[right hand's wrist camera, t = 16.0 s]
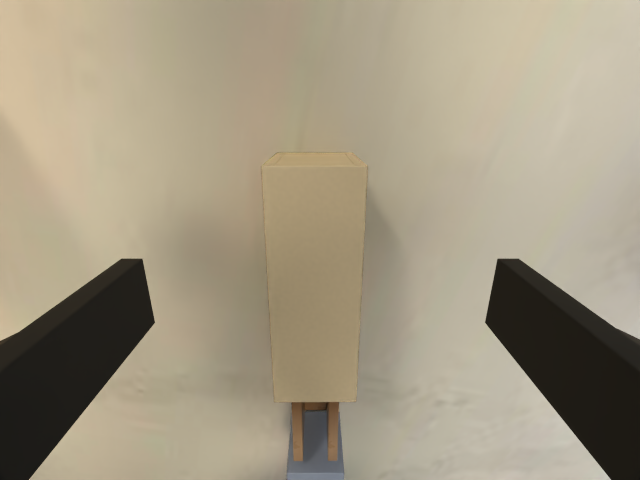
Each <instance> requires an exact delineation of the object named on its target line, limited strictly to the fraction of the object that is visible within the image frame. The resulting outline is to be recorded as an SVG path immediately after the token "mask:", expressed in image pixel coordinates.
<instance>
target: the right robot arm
mask: <svg viewBox="0 0 640 480" xmlns="http://www.w3.org/2000/svg"><path fill="white" fill-rule="evenodd" d="M154 323H155V321H154V316H153V311H152V306H151V301H150V295H149V290H148V285H147V280H146V275H145V270H144V265H143V260H142V259H121V260H119V261H118V262H116V263H115V264H114V265H112V266H111V267H109V268H108V269H107V270H105V271H104V272H102V273H101V274H100V275H98V276H97V277H95V278H94V279H93V280H91V281H90V282H88V283H87V284H86V285H84V286H83V287H81V288H80V289H79V290H77V291H76V292H74V293H73V294H72V295H70V296H69V297H67V298H66V299H65V300H63V301H62V302H60V303H59V304H58V305H56V306H55V307H53V308H52V309H51V310H49V311H48V312H46V313H45V314H44V315H42V316H41V317H39V318H38V319H37V320H35V321H34V322H32V323H31V324H30V325H28V326H27V327H25V328H24V329H23V330H21V331H20V332H18V333H16V334H14V335H12V336H10V337H8V338H6V339H4V340H2V341H0V480H29V479H30V477H31V476H32V475H33V474H34V473H35V471H36V470H37V469H38V468H39V466H40V465H41V464H42V463H43V461H44V460H45V459H46V458H47V456H48V455H49V454H50V453H51V451H52V450H53V449H54V448H55V446H56V445H57V444H58V443H59V441H60V440H61V439H62V438H63V436H64V435H65V434H66V433H67V431H68V430H69V429H70V428H71V426H72V425H73V424H74V423H75V421H76V420H77V419H78V418H79V416H80V415H81V414H82V413H83V411H84V410H85V409H86V408H87V407H88V405H89V404H90V403H91V402H92V400H93V399H94V398H95V397H96V395H97V394H98V393H99V392H100V390H101V389H102V388H103V387H104V385H105V384H106V383H107V382H108V380H109V379H110V378H111V377H112V375H113V374H114V373H115V372H116V370H117V369H118V368H119V367H120V365H121V364H122V363H123V362H124V360H125V359H126V358H127V357H128V355H129V354H130V353H131V352H132V350H133V349H134V348H135V347H136V345H137V344H138V343H139V342H140V340H141V339H142V338H143V337H144V336H145V334H146V333H147V332H148V331H149V329H150V328H151V327H152V326H153V324H154ZM485 323H486V324H487V326H488V327H489V328H490V329H491V331H492V332H493V333H494V334H495V336H496V337H497V338H498V339H499V340H500V342H501V343H502V344H503V345H504V347H505V348H506V349H507V350H508V352H509V353H510V354H511V355H512V357H513V358H514V359H515V360H516V362H517V363H518V364H519V365H520V367H521V368H522V369H523V370H524V372H525V373H526V374H527V375H528V377H529V378H530V379H531V380H532V382H533V383H534V384H535V385H536V387H537V388H538V389H539V390H540V392H541V393H542V394H543V395H544V397H545V398H546V399H547V400H548V402H549V403H550V404H551V405H552V407H553V408H554V409H555V410H556V411H557V413H558V414H559V415H560V416H561V418H562V419H563V420H564V421H565V423H566V424H567V425H568V426H569V428H570V429H571V430H572V431H573V433H574V434H575V435H576V436H577V438H578V439H579V440H580V441H581V443H582V444H583V445H584V446H585V448H586V449H587V450H588V451H589V453H590V454H591V455H592V456H593V458H594V459H595V460H596V461H597V463H598V464H599V465H600V466H601V468H602V469H603V470H604V471H605V473H606V474H607V475H608V476H609V477H610V479H611V480H640V339H637V338H635V337H633V336H631V335H629V334H627V333H625V332H623V331H621V330H619V329H616V328H615V327H613V326H612V325H610V324H609V323H608V322H606V321H605V320H603V319H602V318H601V317H599V316H598V315H596V314H595V313H594V312H592V311H591V310H589V309H588V308H587V307H585V306H584V305H582V304H581V303H580V302H578V301H577V300H575V299H574V298H573V297H571V296H570V295H568V294H567V293H566V292H564V291H563V290H561V289H560V288H559V287H557V286H556V285H554V284H553V283H552V282H550V281H549V280H547V279H546V278H545V277H543V276H542V275H540V274H539V273H538V272H536V271H535V270H533V269H532V268H531V267H529V266H528V265H526V264H525V263H524V262H522V261H521V260H519V259H498V260H497V265H496V270H495V275H494V280H493V285H492V290H491V295H490V301H489V306H488V311H487V316H486V321H485Z"/></svg>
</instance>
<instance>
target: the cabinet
mask: <svg viewBox="0 0 640 480" xmlns="http://www.w3.org/2000/svg"><path fill="white" fill-rule="evenodd" d="M261 174H262V192H263V210H264V228H265V246H266V264H267V283H268V301H269V319H270V337H271V355H272V373H273V391H274V402H356V396H357V376H358V356H359V335H360V315H361V295H362V275H363V255H364V234H365V214H366V194H367V174H368V166H367V165H366V164H365V163H363V162H362V161H361V160H360V159H359V158H358V157H357V156H356V155H355V154H354V153H276V154H275V155H274V156H273V157H272V158H270V159H269V160H268V161H267V162H266V163H264V164H263V165H262V166H261Z"/></svg>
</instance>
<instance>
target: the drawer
mask: <svg viewBox="0 0 640 480" xmlns="http://www.w3.org/2000/svg"><path fill="white" fill-rule="evenodd" d="M305 410H326V411H325V412H305ZM287 480H344V464H343V451H342V439H341V426H340V413H339V402H292V416H291V428H290V440H289V452H288V463H287Z"/></svg>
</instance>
